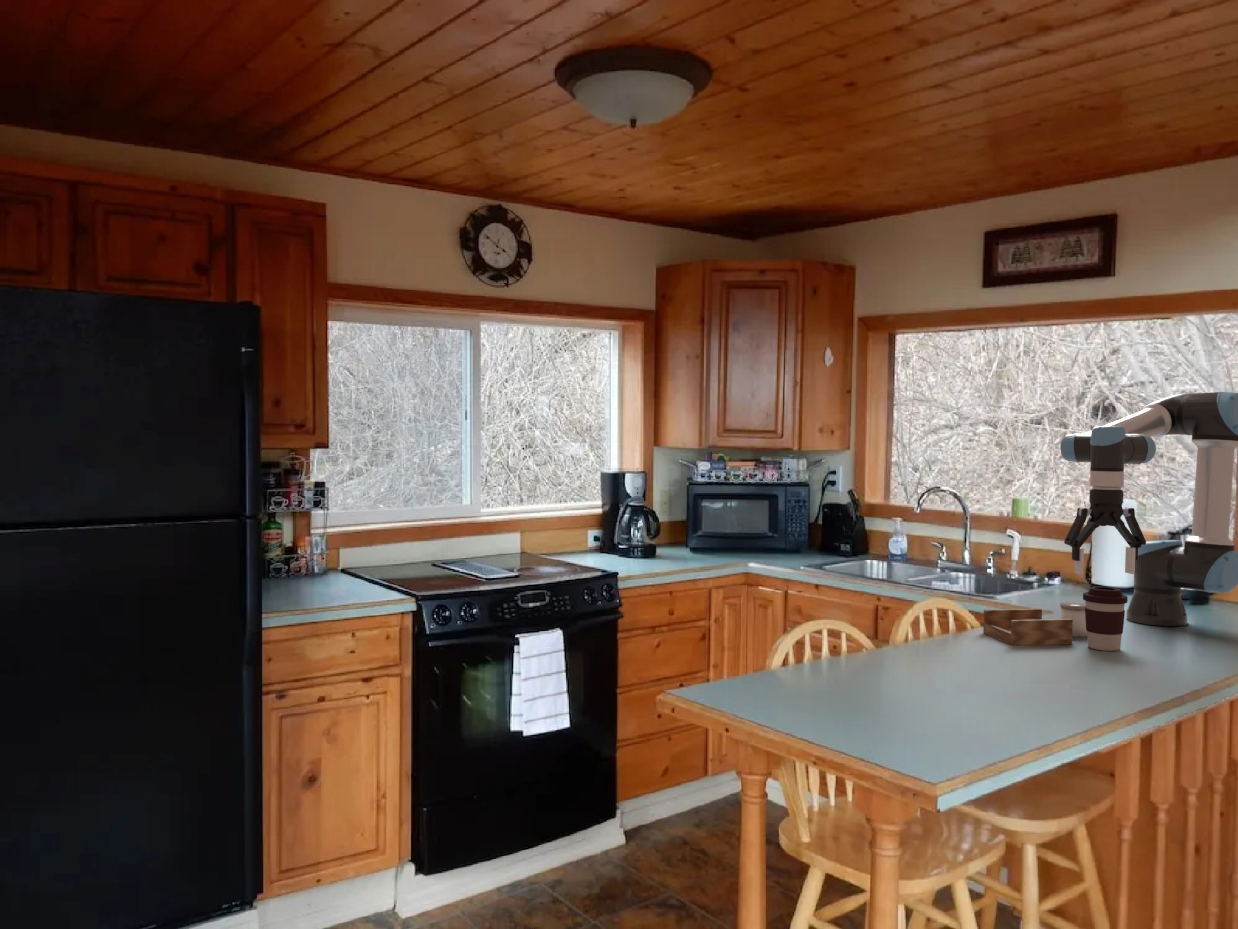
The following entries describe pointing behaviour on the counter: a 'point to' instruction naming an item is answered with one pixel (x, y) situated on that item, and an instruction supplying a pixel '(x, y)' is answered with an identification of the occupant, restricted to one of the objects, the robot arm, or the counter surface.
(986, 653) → the counter surface
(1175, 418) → the robot arm
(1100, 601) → the coffee cup
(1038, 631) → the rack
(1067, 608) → the sugar jar
